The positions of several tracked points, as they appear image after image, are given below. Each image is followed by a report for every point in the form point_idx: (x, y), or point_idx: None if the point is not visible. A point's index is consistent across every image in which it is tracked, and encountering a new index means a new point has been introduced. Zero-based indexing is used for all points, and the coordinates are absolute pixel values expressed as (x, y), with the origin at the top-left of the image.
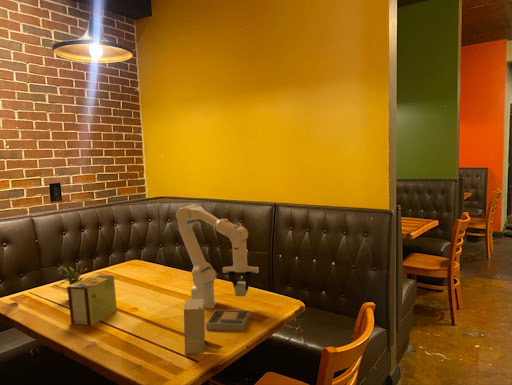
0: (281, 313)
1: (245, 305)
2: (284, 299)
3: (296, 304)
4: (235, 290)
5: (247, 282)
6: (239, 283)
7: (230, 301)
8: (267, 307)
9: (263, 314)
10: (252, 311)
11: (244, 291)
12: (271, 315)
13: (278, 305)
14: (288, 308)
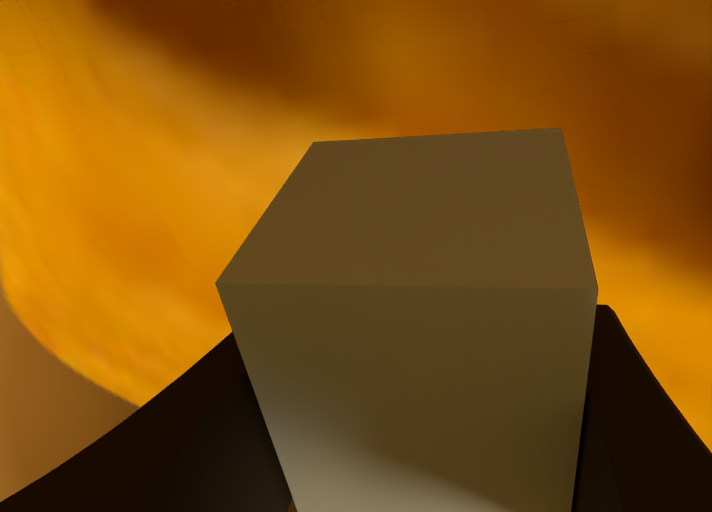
0: (28, 126)
1: None
2: (161, 390)
3: (29, 310)
4: (563, 205)
5: (119, 442)
6: (480, 501)
7: (686, 375)
8: (222, 249)
9: (182, 73)
10: (340, 140)
11: (283, 196)
12: (88, 60)
13: (148, 291)
14: (38, 238)
